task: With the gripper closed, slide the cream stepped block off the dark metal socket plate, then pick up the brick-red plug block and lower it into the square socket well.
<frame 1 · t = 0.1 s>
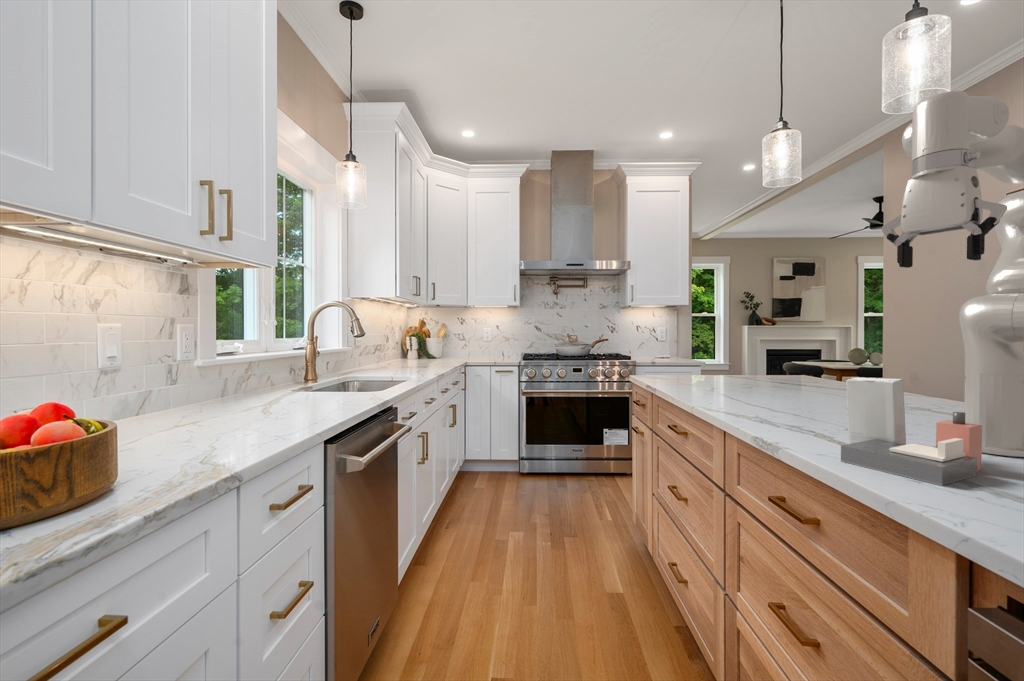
hand: (938, 263, 82), 37 cm above the counter, tool pointing down, fingers open, 9 cm apart
skincare box: (875, 451, 93), on the counter
socket: (905, 468, 82), on the counter
cream stepped block: (926, 444, 80), point 5 cm above the counter, slide at 0.0 cm
plug: (958, 467, 81), on the counter
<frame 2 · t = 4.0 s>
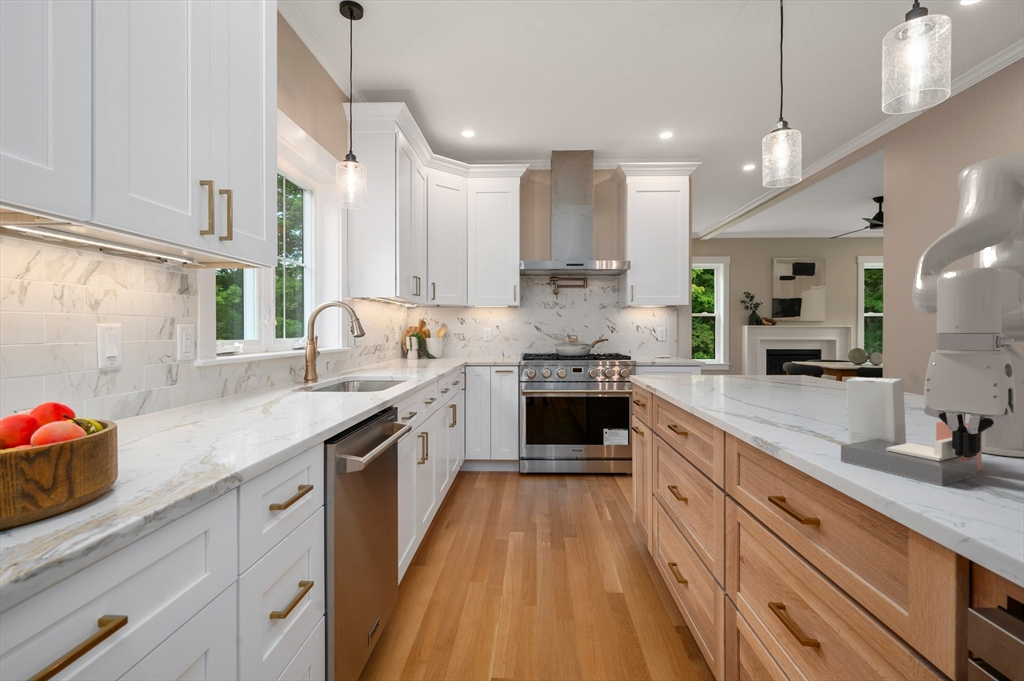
hand: (966, 455, 75), 4 cm above the counter, tool pointing down, fingers closed
cream stepped block: (923, 444, 80), point 5 cm above the counter, slide at 0.5 cm, touching gripper
everything else where it was.
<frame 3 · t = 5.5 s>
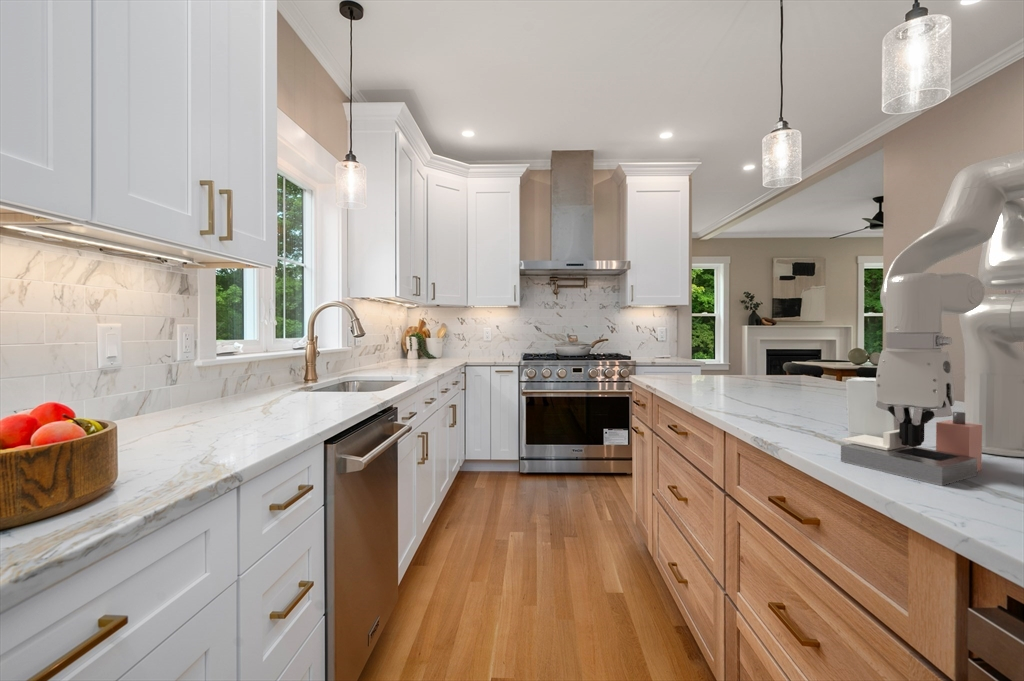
hand: (911, 445, 82), 4 cm above the counter, tool pointing down, fingers closed
cream stepped block: (875, 435, 87), point 5 cm above the counter, slide at 7.8 cm, touching gripper
everything else where it was.
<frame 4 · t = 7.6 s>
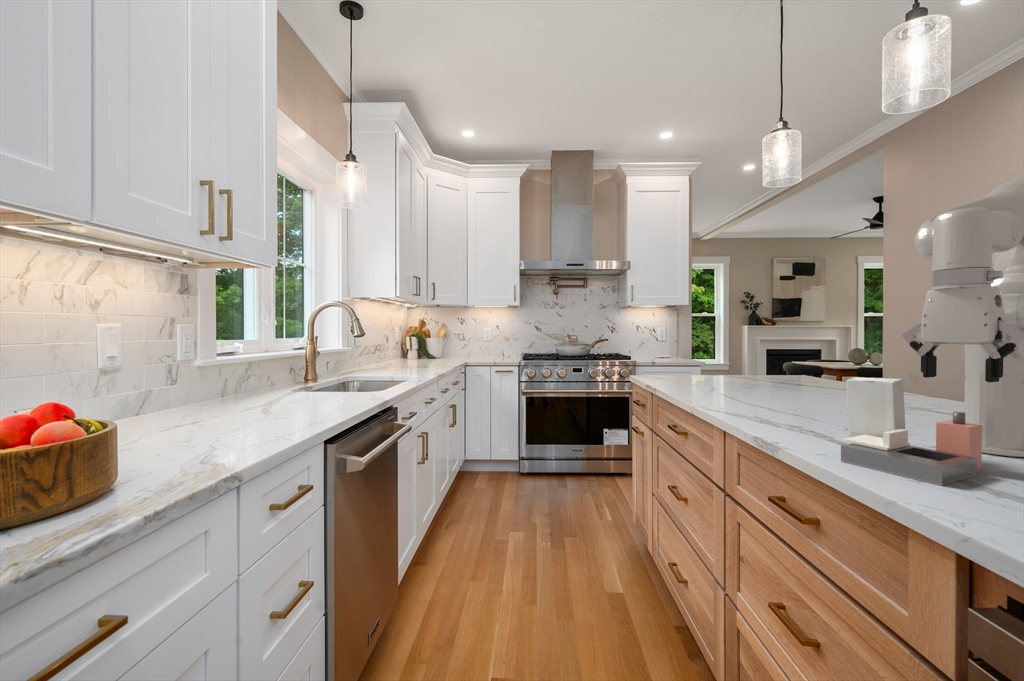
hand: (959, 378, 81), 16 cm above the counter, tool pointing down, fingers open, 8 cm apart
cream stepped block: (875, 435, 87), point 5 cm above the counter, slide at 7.9 cm
everything else where it was.
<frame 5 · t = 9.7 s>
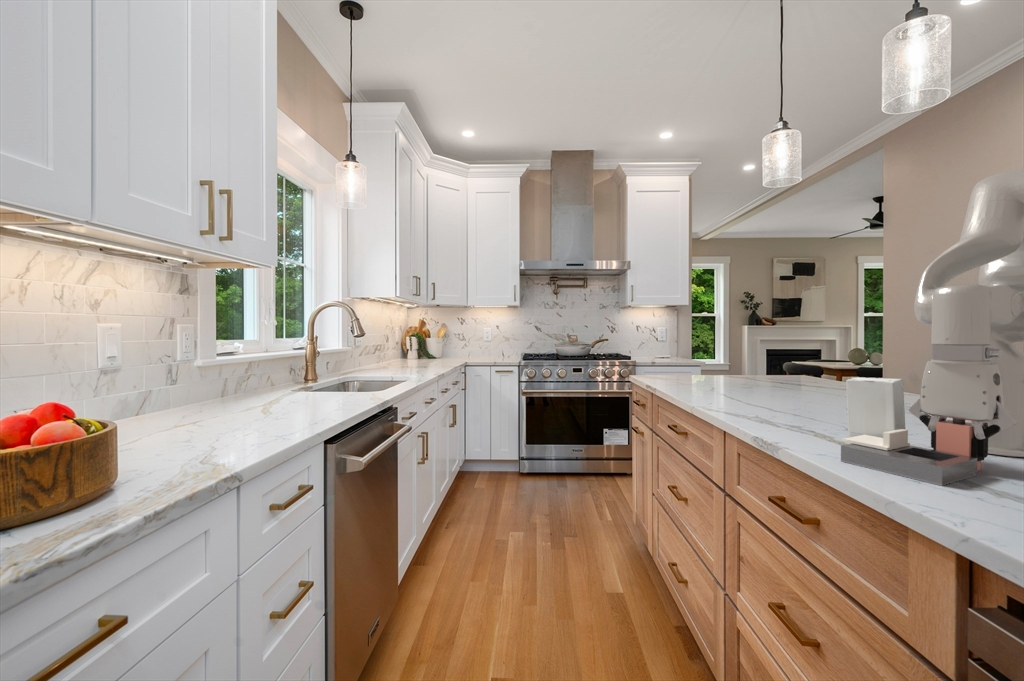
hand: (958, 455, 81), 2 cm above the counter, tool pointing down, fingers closed on plug, 4 cm apart
plug: (958, 467, 81), on the counter, touching gripper
everything else where it was.
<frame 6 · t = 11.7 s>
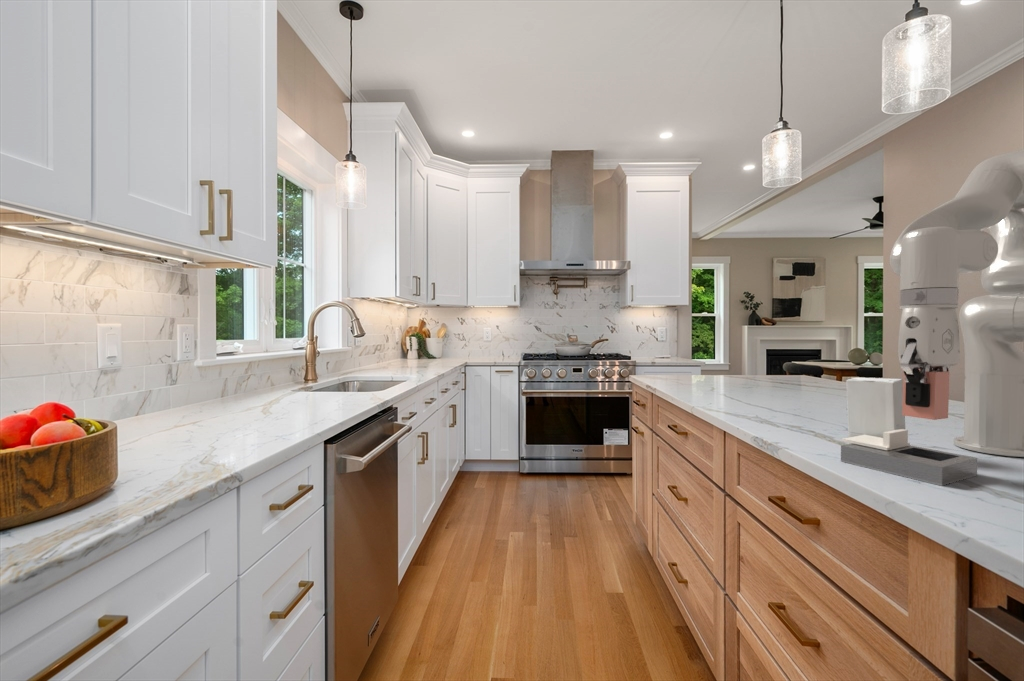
hand: (925, 404, 79), 12 cm above the counter, tool pointing down, fingers closed on plug, 4 cm apart
plug: (924, 416, 79), point 10 cm above the counter, touching gripper
everything else where it was.
when the fingers open (4 cm above the counter, at t = 13.7 s): plug drops 1 cm, resting on socket.
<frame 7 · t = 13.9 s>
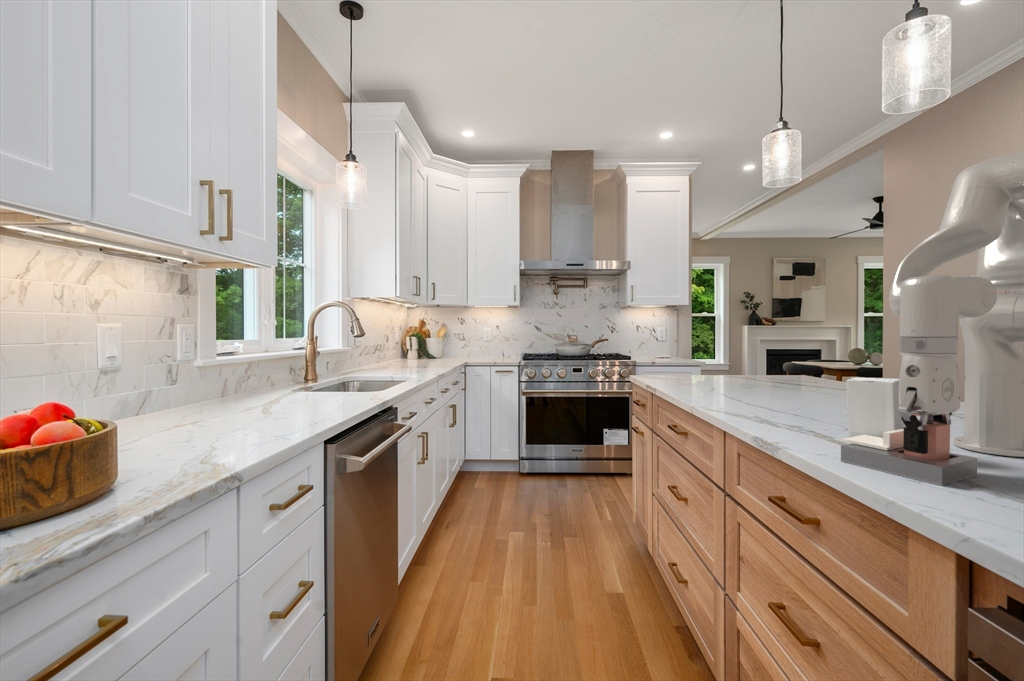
hand: (926, 448, 80), 4 cm above the counter, tool pointing down, fingers open, 6 cm apart
plug: (926, 468, 80), resting on socket
everything else where it was.
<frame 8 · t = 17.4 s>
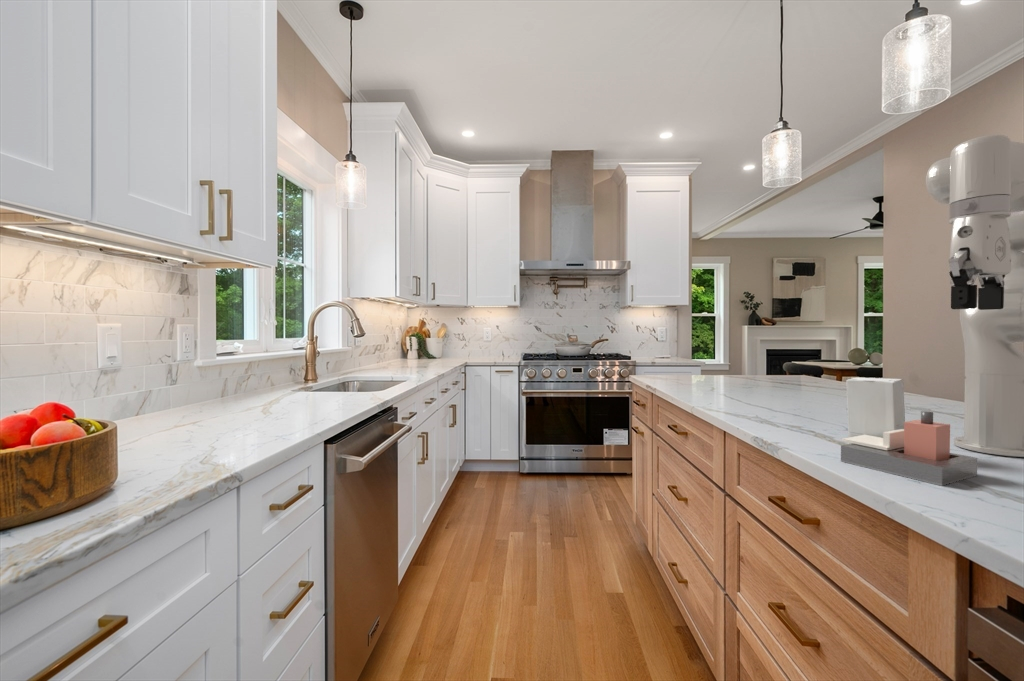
hand: (977, 309, 80), 28 cm above the counter, tool pointing down, fingers open, 9 cm apart
nothing on the counter moved.
at the end: plug 0.1 cm from the target spot, resting on socket; plug tilted 0°; cream stepped block slide at 7.9 cm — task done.
